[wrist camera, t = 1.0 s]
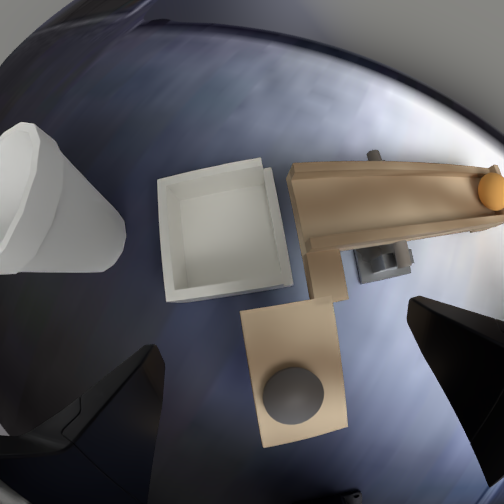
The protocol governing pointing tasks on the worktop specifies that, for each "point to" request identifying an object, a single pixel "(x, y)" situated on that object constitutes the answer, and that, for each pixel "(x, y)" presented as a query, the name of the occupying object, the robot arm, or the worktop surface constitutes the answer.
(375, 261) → the fulcrum
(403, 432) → the worktop surface
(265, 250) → the dish
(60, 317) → the worktop surface
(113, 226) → the foam cup
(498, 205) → the ball
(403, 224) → the lever
